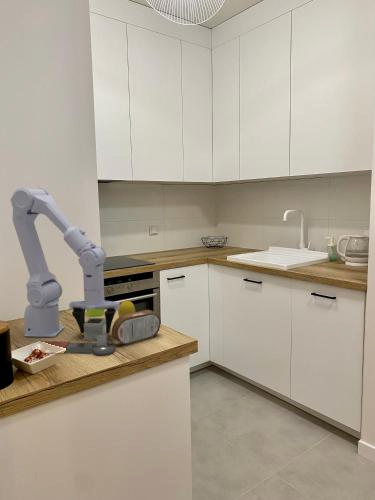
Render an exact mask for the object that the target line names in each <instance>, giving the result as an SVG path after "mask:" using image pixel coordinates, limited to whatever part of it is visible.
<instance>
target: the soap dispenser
mask: <svg viewBox="0 0 375 500" xmlns="http://www.w3.org/2000/svg"><path fill="white" fill-rule="evenodd" d="M104 310H105V309H86V315H87V316H88V317H99V316H103V315H105V311H104Z"/></svg>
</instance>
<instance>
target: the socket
mask: <svg viewBox="0 0 375 500" xmlns="http://www.w3.org/2000/svg"><path fill="white" fill-rule="evenodd" d="M99 335H107V334H106V318H105V317H89V318H88V319H87V320H85V323H84V333H83V339H84V341H97V338H98V336H99Z"/></svg>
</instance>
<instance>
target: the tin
mask: <svg viewBox="0 0 375 500" xmlns="http://www.w3.org/2000/svg"><path fill="white" fill-rule="evenodd" d="M161 324H162V323H161V317H160V316H159V315H158V314H157V313H156V312H154V311H153V310H150V309H145V310H141V311H135V313H130V314H125V315H122V316H120V317H119V316H118V318H117V319H115V321H114V323H113V324H112V326H111V335H112V337H113V338H114V340H115V341H117V342H118V343H120V344H122V345H129V344H130V345H131V344H134V343H137V342H140V341H145V340H149V339H153V338H154V337H155V336H156V335H158V332H159V331H160V328H161Z"/></svg>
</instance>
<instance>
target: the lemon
mask: <svg viewBox="0 0 375 500" xmlns="http://www.w3.org/2000/svg"><path fill="white" fill-rule="evenodd" d="M117 312H118V318H119V317H120V316H122V315H125V314H130V313H135V312H136V308H135V304H134V303H133V302H132V301H130V300H128V299H125V300H124V301H122V302H120V308H119V310H117Z"/></svg>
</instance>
